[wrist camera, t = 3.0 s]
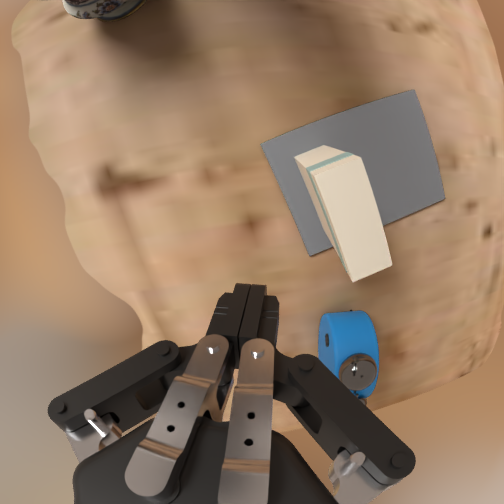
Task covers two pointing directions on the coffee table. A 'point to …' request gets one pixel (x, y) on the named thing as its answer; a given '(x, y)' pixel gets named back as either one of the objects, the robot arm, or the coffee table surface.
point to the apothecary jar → (102, 8)
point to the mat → (373, 156)
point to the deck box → (346, 209)
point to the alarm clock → (350, 350)
